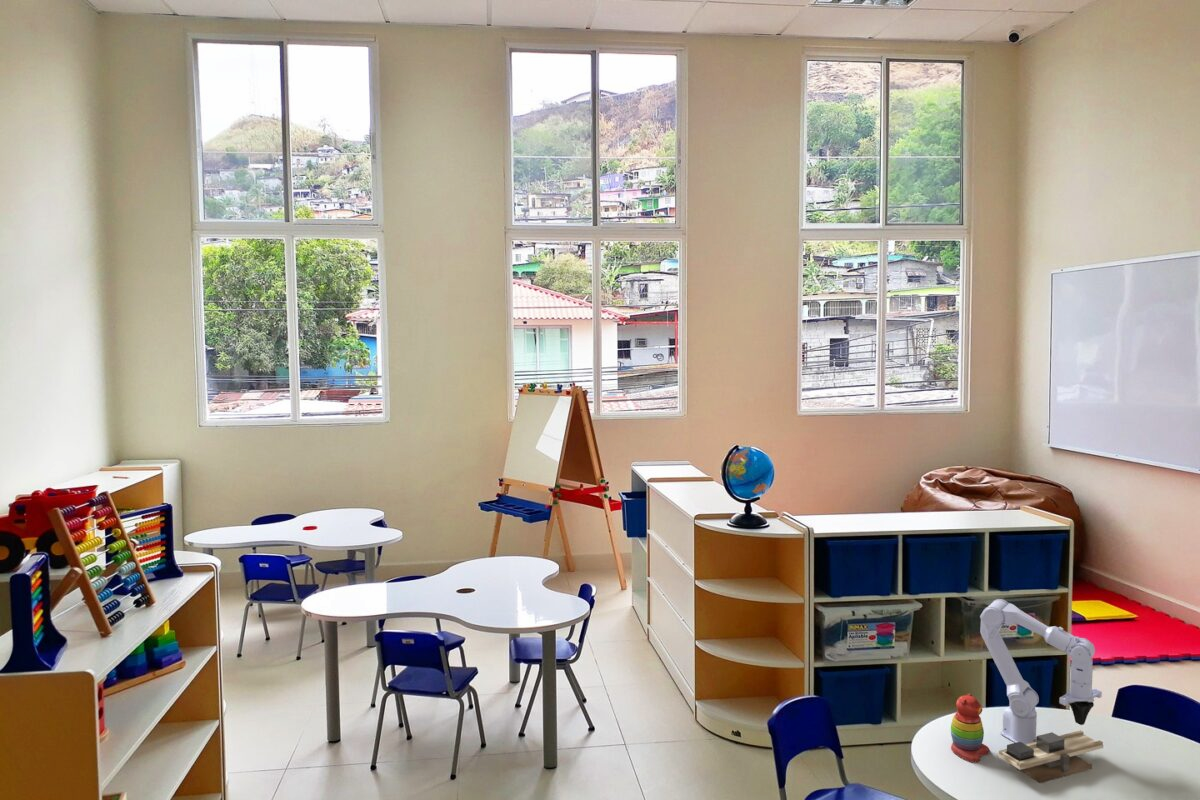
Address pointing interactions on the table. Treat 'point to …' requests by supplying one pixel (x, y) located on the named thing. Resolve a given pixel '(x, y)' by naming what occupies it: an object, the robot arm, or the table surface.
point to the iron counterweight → (1020, 751)
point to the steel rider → (1050, 743)
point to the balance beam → (1072, 746)
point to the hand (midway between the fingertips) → (1079, 723)
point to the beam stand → (1057, 768)
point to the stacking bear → (968, 730)
